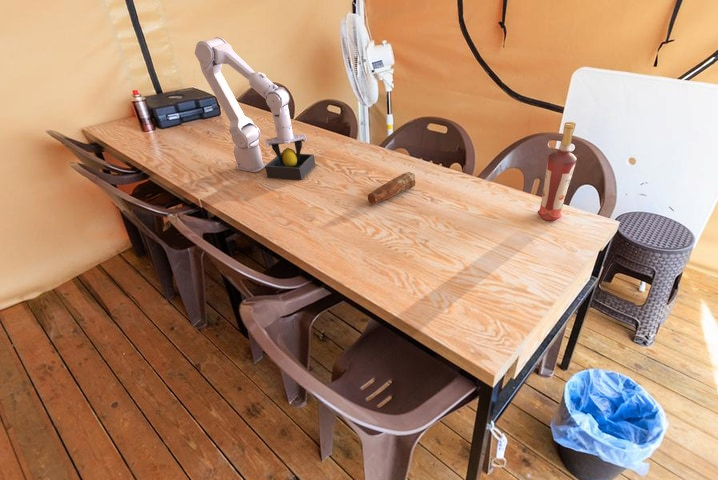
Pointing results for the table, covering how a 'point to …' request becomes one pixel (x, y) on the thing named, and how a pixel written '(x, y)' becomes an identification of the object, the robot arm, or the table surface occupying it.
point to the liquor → (558, 177)
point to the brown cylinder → (392, 188)
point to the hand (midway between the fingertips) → (290, 162)
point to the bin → (290, 168)
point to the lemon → (289, 157)
